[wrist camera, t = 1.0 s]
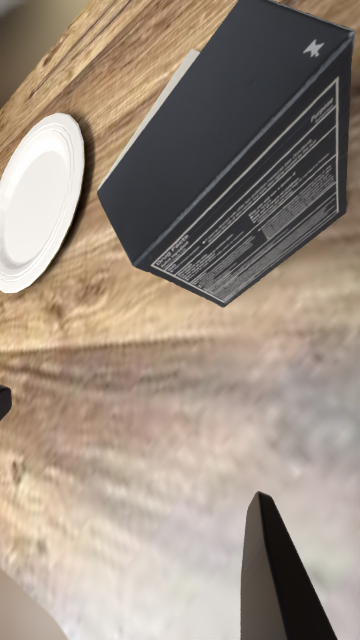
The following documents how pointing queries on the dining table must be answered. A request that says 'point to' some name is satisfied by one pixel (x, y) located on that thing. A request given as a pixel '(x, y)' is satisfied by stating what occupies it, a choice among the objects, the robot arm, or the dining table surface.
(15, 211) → the plate
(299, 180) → the small box
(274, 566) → the robot arm
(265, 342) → the dining table surface
